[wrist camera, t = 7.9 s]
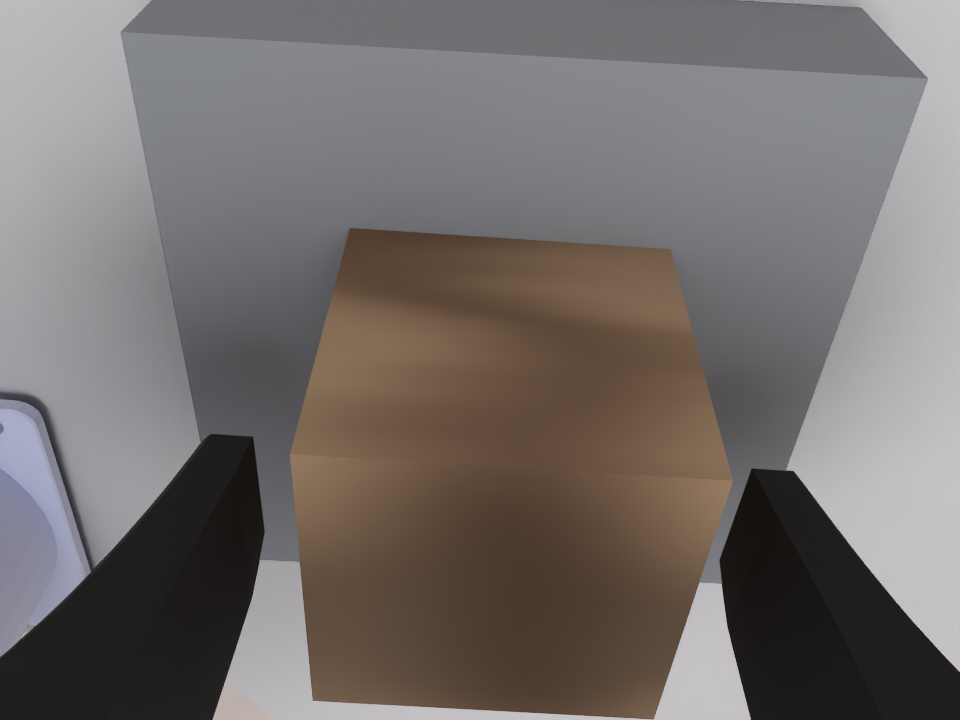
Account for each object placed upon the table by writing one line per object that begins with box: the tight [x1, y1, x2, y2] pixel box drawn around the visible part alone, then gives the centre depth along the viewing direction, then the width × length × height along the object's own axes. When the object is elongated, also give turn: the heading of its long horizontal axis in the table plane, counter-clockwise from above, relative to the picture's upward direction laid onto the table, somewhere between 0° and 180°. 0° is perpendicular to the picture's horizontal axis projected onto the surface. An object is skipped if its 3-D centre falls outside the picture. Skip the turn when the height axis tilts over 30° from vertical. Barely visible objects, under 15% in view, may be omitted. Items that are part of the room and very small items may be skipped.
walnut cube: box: [290, 228, 733, 719], centre depth 14 cm, size 5×5×5 cm
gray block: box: [121, 0, 928, 584], centre depth 17 cm, size 11×11×4 cm
